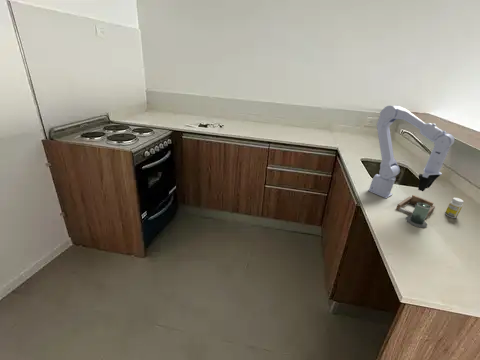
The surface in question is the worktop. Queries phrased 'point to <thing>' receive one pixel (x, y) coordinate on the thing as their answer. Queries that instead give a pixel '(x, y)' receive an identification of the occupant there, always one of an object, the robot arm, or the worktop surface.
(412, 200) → the frame
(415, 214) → the tin can
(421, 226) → the coaster
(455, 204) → the supplement bottle
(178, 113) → the worktop surface
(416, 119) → the robot arm
